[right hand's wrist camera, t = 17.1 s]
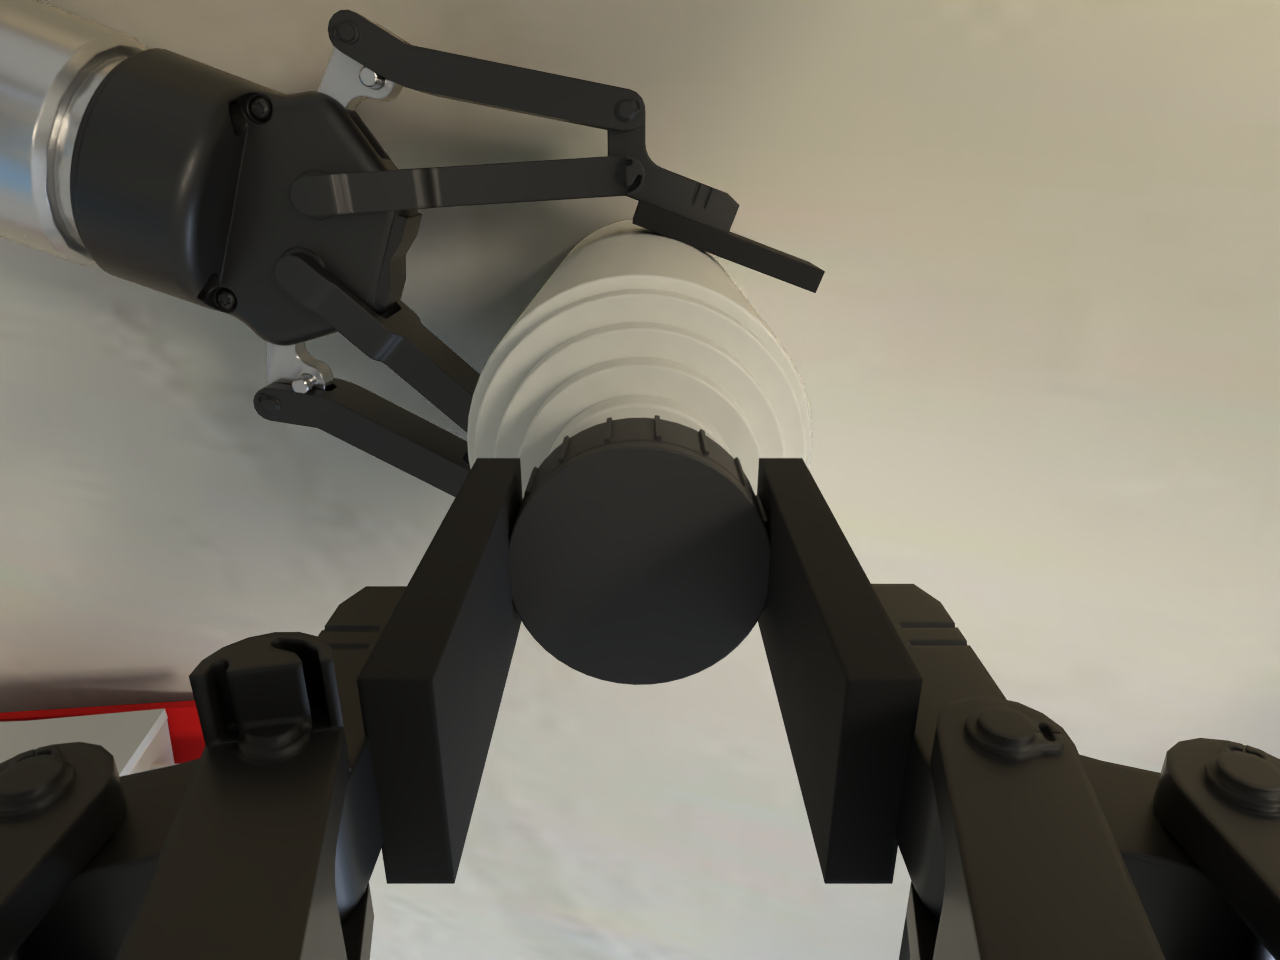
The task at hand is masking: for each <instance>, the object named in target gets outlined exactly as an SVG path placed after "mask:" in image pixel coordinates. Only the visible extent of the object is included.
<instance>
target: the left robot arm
mask: <svg viewBox="0 0 1280 960" xmlns="http://www.w3.org/2000/svg"><path fill="white" fill-rule="evenodd" d="M328 33H329V38H330V40H331V42H332V43H333V45H334V46H335V48H334V50H333V53H332V55H331V58H330V60H329V63H328V65H327V68H326V70H325V73H324V75H323V78H322V80H321V83H320V85H319V88H318V90H317V92H315V91H308V92H302V93H297V94H283V93H280V92H277V91H274V90H272V89H269V88H266V87H264V86H261V85H258V84H256V83H253V82H251V81H248V80H245V79H243V78H240V77H237V76H235V75H232V74H229V73H227V72H224V71H221V70H219V69H216V68H213V67H211V66H208V65H205V64H203V63H200V62H198V61H195V60H192V59H190V58H187V57H184V56H182V55H179V54H176V53H174V52H171V51H168V50H165V49H158V48H155V49H147V48H146V47H145V46H144V45H143V44H142V43H141V42H140V41H138V40H137V39H136V38H134V37H132V36H129V35H126V34H124V33H121V32H118V31H116V30H113V29H110V28H108V27H105V26H103V25H100V24H97V23H95V22H92V21H89V20H87V19H84V18H81V17H79V16H76V15H73V14H71V13H68V12H66V11H63V10H60V9H58V8H55V7H52V6H50V5H47V4H44V3H42V2H39V1H37V0H0V236H1V237H4V238H6V239H9V240H12V241H15V242H18V243H21V244H24V245H26V246H29V247H32V248H35V249H38V250H41V251H43V252H46V253H49V254H52V255H55V256H58V257H61V258H63V259H66V260H69V261H72V262H75V263H78V264H81V265H98V266H99V267H101V268H102V269H103V270H104V271H106V272H107V273H109V274H111V275H113V276H116V277H119V278H122V279H125V280H128V281H131V282H134V283H137V284H140V285H142V286H145V287H148V288H151V289H154V290H157V291H160V292H163V293H166V294H169V295H172V296H174V297H177V298H180V299H183V300H186V301H189V302H192V303H195V304H198V305H201V306H204V307H207V308H210V309H213V310H217V311H220V312H224V313H227V314H230V315H232V316H234V317H236V318H238V319H239V320H241V321H242V322H244V323H245V324H246V325H247V326H249V327H250V328H251V329H252V330H253V331H254V332H255V333H256V334H257V335H258V336H259V337H261V338H262V339H263V340H265V341H267V385H266V387H264V388H262V389H261V390H259V391H258V392H257V393H256V395H255V396H254V401H253V402H254V407H255V409H256V411H257V412H258V414H259V415H261V416H262V417H263V418H265V419H268V420H271V421H277V422H284V423H290V424H296V425H302V426H309V427H315V428H319V429H321V430H323V431H325V432H327V433H329V434H331V435H333V436H335V437H337V438H339V439H341V440H343V441H345V442H347V443H349V444H351V445H353V446H355V447H357V448H359V449H361V450H363V451H365V452H367V453H369V454H371V455H373V456H375V457H377V458H379V459H381V460H383V461H385V462H387V463H389V464H391V465H393V466H395V467H397V468H399V469H401V470H403V471H405V472H407V473H409V474H411V475H413V476H415V477H417V478H419V479H421V480H423V481H425V482H427V483H429V484H431V485H432V486H434V487H436V488H438V489H440V490H442V491H444V492H446V493H448V494H450V495H452V496H454V497H456V496H457V494H458V492H459V490H460V488H461V487H462V485H463V483H464V481H465V479H466V477H467V476H468V474H469V472H470V470H471V468H470V464H469V458H468V445H467V441H465V440H463V439H461V438H459V437H457V436H455V435H453V434H451V433H450V432H448V431H446V430H444V429H442V428H440V427H438V426H436V425H434V424H432V423H430V422H428V421H426V420H424V419H422V418H421V417H419V416H417V415H415V414H413V413H411V412H409V411H407V410H405V409H403V408H401V407H399V406H397V405H395V404H393V403H392V402H390V401H388V400H386V399H384V398H382V397H380V396H378V395H376V394H374V393H372V392H370V391H368V390H366V389H364V388H362V387H360V386H358V385H356V384H353V383H350V382H347V381H344V380H341V379H337V378H333V373H332V370H331V368H330V367H329V366H328V365H327V364H325V363H324V362H322V361H320V360H317V359H315V358H314V357H312V356H311V355H310V354H309V352H308V351H307V349H306V347H305V341H308V340H311V339H315V338H318V337H321V336H325V335H328V334H332V333H335V332H339V333H341V334H342V335H343V336H344V337H345V338H347V339H348V340H349V341H350V342H351V343H353V344H354V345H355V346H356V347H357V348H359V349H360V350H361V351H362V352H363V353H365V354H366V355H367V356H369V357H370V358H372V359H374V360H377V361H380V362H383V363H384V364H386V365H387V366H388V367H390V368H391V369H392V370H393V371H394V372H396V373H397V374H398V375H399V376H400V377H401V378H403V379H404V380H405V381H406V382H407V383H409V384H410V385H411V386H412V387H413V388H415V389H416V390H417V391H418V392H419V393H421V394H422V395H423V396H424V397H425V398H427V399H428V400H429V401H430V402H431V403H432V404H434V405H435V406H436V407H437V408H438V409H440V410H441V411H442V412H443V413H444V414H446V415H447V416H448V417H449V418H450V419H452V420H453V421H454V422H455V423H456V424H458V425H459V426H460V427H461V428H462V429H463V430H465V431H466V432H467V431H468V417H469V412H470V407H471V402H472V397H473V394H474V391H475V388H476V385H477V383H478V380H479V377H480V374H479V373H478V372H477V371H475V370H474V369H473V368H472V367H471V366H470V365H468V364H467V363H466V362H465V361H464V360H463V359H462V358H460V357H459V356H458V355H457V354H456V353H455V352H453V351H452V350H451V349H450V348H449V347H448V346H447V345H445V344H444V343H443V342H442V341H441V340H440V339H438V338H437V337H436V336H435V335H434V334H433V333H431V332H430V331H429V330H428V329H427V328H426V327H425V326H424V325H423V324H422V323H421V321H420V319H419V317H418V316H417V315H416V314H415V313H414V312H413V311H412V310H411V309H410V308H409V307H408V306H407V305H405V304H404V303H403V302H402V301H401V300H400V299H401V296H402V292H403V288H404V284H405V280H406V253H407V252H408V250H409V248H410V246H411V245H412V243H413V241H414V239H415V238H416V236H417V233H418V229H419V225H420V221H421V217H422V214H420V213H418V209H426V208H436V207H451V206H467V205H483V204H499V203H515V202H531V201H547V200H562V199H578V198H594V197H610V196H628V197H631V198H633V199H636V200H638V201H639V202H638V205H637V208H636V211H635V214H634V217H633V223H632V224H635V225H637V226H640V227H643V228H645V229H648V230H650V231H653V232H656V233H658V234H661V235H664V236H666V237H669V238H672V239H674V240H677V241H680V242H682V243H685V244H687V245H690V246H693V247H695V248H698V249H701V250H703V251H706V252H708V253H711V254H714V255H716V256H719V257H722V258H724V259H727V260H730V261H732V262H735V263H737V264H740V265H743V266H745V267H748V268H751V269H753V270H756V271H759V272H761V273H764V274H766V275H769V276H772V277H774V278H777V279H780V280H782V281H785V282H788V283H790V284H793V285H795V286H798V287H801V288H803V289H806V290H809V291H811V292H814V293H816V291H817V288H818V286H819V284H820V281H821V279H822V277H823V275H824V272H825V271H823V270H822V269H820V268H818V267H816V266H815V265H813V264H811V263H810V262H808V261H805V260H802V259H800V258H797V257H795V256H792V255H789V254H787V253H784V252H782V251H779V250H776V249H774V248H771V247H768V246H766V245H763V244H761V243H758V242H755V241H753V240H750V239H748V238H745V237H742V236H740V235H737V234H735V233H732V232H729V231H730V228H731V226H732V223H733V220H734V218H735V215H736V213H737V210H738V207H739V204H738V203H737V202H736V201H735V200H734V199H733V198H732V197H731V196H729V195H728V194H727V193H725V192H722V191H720V190H717V189H714V188H712V187H709V186H707V185H704V184H702V183H699V182H696V181H694V180H691V179H689V178H686V177H684V176H681V175H679V174H676V173H673V172H671V171H668V170H666V169H663V168H661V167H659V166H657V165H656V164H655V163H653V162H652V161H651V159H650V158H649V156H648V154H647V151H646V146H645V105H644V102H643V100H642V98H641V97H640V96H639V95H638V94H637V92H634V91H632V90H630V89H625V88H620V87H615V86H610V85H605V84H601V83H596V82H591V81H586V80H581V79H576V78H571V77H566V76H561V75H556V74H551V73H546V72H541V71H536V70H531V69H526V68H521V67H516V66H511V65H506V64H501V63H496V62H491V61H487V60H482V59H477V58H472V57H467V56H462V55H457V54H452V53H447V52H442V51H437V50H432V49H427V48H422V47H417V46H412V45H411V44H409V43H408V42H406V41H404V40H403V39H401V38H399V37H398V36H396V35H395V34H393V33H391V32H390V31H388V30H387V29H385V28H383V27H382V26H380V25H378V24H376V23H375V22H373V21H371V20H369V19H367V18H365V17H363V16H361V15H359V14H357V13H355V12H353V11H350V10H340V11H338V12H337V13H335V14H334V15H333V16H332V18H331V19H330V21H329V26H328ZM403 86H404V87H407V88H410V89H414V90H417V91H420V92H423V93H427V94H430V95H434V96H438V97H443V98H448V99H453V100H458V101H463V102H468V103H474V104H479V105H484V106H489V107H494V108H499V109H504V110H509V111H514V112H519V113H524V114H529V115H534V116H539V117H544V118H549V119H554V120H559V121H564V122H569V123H574V124H580V125H585V126H590V127H595V128H600V129H605V130H608V157H593V158H577V159H561V160H546V161H530V162H514V163H499V164H483V165H467V166H452V167H436V168H418V169H403V170H398V169H397V167H396V166H395V165H394V163H393V162H392V161H391V159H390V158H389V156H388V155H387V154H386V152H385V151H384V150H383V148H382V147H381V146H380V144H379V143H378V141H377V140H376V139H375V137H374V136H373V135H372V133H371V132H370V131H369V129H368V128H367V126H366V125H365V124H364V122H363V121H362V120H361V118H360V117H359V116H358V114H357V113H356V111H355V108H356V107H357V105H358V104H359V103H360V102H361V101H362V100H365V99H368V98H372V99H376V100H380V101H391V100H393V99H395V98H396V97H397V96H398V95H399V93H400V92H401V89H402V87H403Z"/></svg>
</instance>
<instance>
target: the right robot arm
mask: <svg viewBox="0 0 1280 960" xmlns="http://www.w3.org/2000/svg"><path fill="white" fill-rule="evenodd" d="M757 495H759V497H760V500H761V503H762V506H763V509H764V512H765V514H766V517H767V520H768V525H767V526H766V528H767V531H768V535H769V539H770V561H769V577H768V592H767V602H766V605H765V607H764V609H763V611H762V613H761V615H760V617H759V619H758V623H759V627H760V631H761V635H762V639H763V643H764V647H765V651H766V655H767V659H768V662H769V666H770V670H771V674H772V678H773V682H774V686H775V690H776V694H777V698H778V702H779V706H780V709H781V713H782V717H783V721H784V725H785V729H786V733H787V737H788V741H789V745H790V749H791V752H792V756H793V760H794V764H795V768H796V772H797V776H798V780H799V784H800V788H801V792H802V796H803V799H804V803H805V807H806V811H807V815H808V819H809V823H810V827H811V831H812V835H813V839H814V842H815V846H816V850H817V854H818V858H819V862H820V866H821V870H822V874H823V878H824V882H825V883H843V884H892V882H893V875H894V869H895V862H896V855H897V848H898V846H899V848H900V851H901V854H902V856H903V859H904V862H905V864H906V867H907V870H908V872H909V875H910V878H911V880H912V881H911V887H910V894H909V900H908V906H907V912H906V919H905V925H904V931H903V937H902V944H901V950H900V956H899V960H910V959H911V960H1280V759H1278V758H1276V757H1274V756H1271V755H1269V754H1267V753H1266V752H1264V751H1262V750H1259V749H1256V748H1253V747H1251V746H1248V745H1246V746H1245V745H1243V744H1240V743H1235V742H1231V741H1225V740H1216V739H1206V738H1197V739H1192V740H1186V741H1180V742H1178V743H1177V744H1176V745H1174V746H1173V747H1172V748H1171V749H1170V750H1168V751H1167V753H1166V757H1165V760H1164V764H1163V767H1162V771H1161V773H1157V772H1153V771H1148V770H1143V769H1138V768H1134V767H1129V766H1124V765H1119V764H1114V763H1110V762H1105V761H1101V760H1097V759H1093V758H1090V757H1086V756H1082V755H1079V754H1078V751H1077V749H1076V746H1075V744H1074V743H1073V742H1072V740H1071V739H1070V737H1069V736H1068V735H1067V733H1066V732H1065V731H1064V729H1063V728H1062V727H1061V726H1059V725H1058V724H1057V723H1055V722H1054V721H1052V720H1051V719H1050V718H1048V717H1047V716H1046V715H1044V714H1043V713H1041V712H1038V711H1036V710H1034V709H1032V708H1029V707H1027V706H1025V705H1023V704H1020V703H1018V702H1013V701H1009V700H1007V699H1006V698H1005V696H1004V695H1003V694H1002V692H1001V691H1000V689H999V688H998V686H997V685H996V683H995V682H994V680H993V679H992V677H991V676H990V674H989V673H988V671H987V670H986V669H985V667H984V666H983V664H982V663H981V661H980V660H979V658H978V657H977V655H976V654H975V652H974V651H973V649H972V648H971V646H967V641H966V639H965V638H964V636H963V635H962V633H961V632H960V630H959V629H958V628H955V623H954V621H953V620H952V619H951V617H950V616H949V614H948V613H947V611H946V610H945V608H944V607H943V605H942V604H941V602H939V601H938V600H936V599H935V598H933V597H932V596H931V595H929V594H928V593H926V592H925V591H923V590H922V589H920V588H919V587H917V586H916V585H914V584H871V583H870V582H869V580H868V578H867V576H866V574H865V572H864V571H863V569H862V567H861V565H860V563H859V561H858V560H857V558H856V556H855V554H854V552H853V550H852V549H851V547H850V545H849V543H848V541H847V539H846V538H845V536H844V534H843V532H842V530H841V528H840V527H839V525H838V523H837V521H836V519H835V517H834V516H833V514H832V512H831V510H830V508H829V506H828V505H827V503H826V501H825V499H824V497H823V495H822V494H821V492H820V490H819V488H818V486H817V484H816V483H815V481H814V479H813V477H812V475H811V473H810V471H809V470H808V468H807V466H806V464H805V462H804V460H803V459H802V458H759V466H758V484H757ZM522 500H523V497H522V480H521V462H520V458H477V459H476V461H475V463H474V465H473V466H472V468H471V470H470V472H469V474H468V476H467V477H466V479H465V481H464V483H463V485H462V487H461V488H460V490H459V492H458V494H457V496H456V498H455V499H454V501H453V503H452V505H451V507H450V509H449V510H448V512H447V514H446V516H445V518H444V520H443V521H442V523H441V525H440V527H439V529H438V531H437V532H436V534H435V536H434V538H433V540H432V542H431V543H430V545H429V547H428V549H427V551H426V553H425V554H424V556H423V558H422V560H421V562H420V564H419V565H418V567H417V569H416V571H415V573H414V575H413V576H412V578H411V580H410V582H409V584H408V586H394V587H365V588H363V589H362V590H360V591H359V592H357V593H356V594H354V595H353V596H351V597H350V598H349V599H347V600H346V601H344V602H343V603H341V604H340V605H339V606H338V607H337V609H336V610H335V612H334V613H333V615H332V616H331V618H330V619H329V621H328V622H327V624H326V625H325V630H322V631H321V633H320V634H319V636H318V637H317V636H313V635H309V634H305V633H301V632H274V633H269V634H264V635H259V636H254V637H249V638H246V639H244V640H241V641H238V642H236V643H233V644H231V645H228V646H225V647H223V648H221V649H220V650H218V651H216V652H215V653H213V654H212V655H210V656H209V657H207V658H205V659H204V660H202V661H201V662H200V664H199V665H198V666H197V667H196V668H195V669H194V671H193V672H192V673H191V674H190V675H189V678H190V683H191V687H192V691H193V695H194V699H195V704H196V708H197V712H198V716H199V720H200V725H201V729H202V733H203V737H204V742H205V748H204V750H203V753H202V755H201V757H200V758H199V759H195V760H192V761H188V762H184V763H181V764H177V765H172V766H168V767H163V768H158V769H153V770H149V771H144V772H139V773H134V774H130V775H125V776H120V777H119V774H118V771H117V767H116V764H115V760H114V757H113V755H112V754H111V753H110V752H108V751H107V750H106V749H105V748H104V747H102V746H101V745H96V744H90V743H85V742H71V743H61V744H52V745H48V746H44V747H39V748H38V749H35V750H34V749H32V750H29V751H26V752H23V753H20V754H18V755H16V756H14V757H13V758H10V759H8V760H6V761H4V762H2V763H0V960H370V950H371V940H372V930H373V921H374V913H373V907H372V900H371V894H370V887H369V880H370V877H371V874H372V872H373V869H374V866H375V864H376V861H377V858H378V856H379V853H380V850H381V848H382V853H383V860H384V867H385V874H386V880H387V884H392V883H455V879H456V875H457V871H458V867H459V863H460V859H461V855H462V851H463V847H464V844H465V840H466V836H467V832H468V828H469V824H470V820H471V816H472V812H473V808H474V804H475V801H476V797H477V793H478V789H479V785H480V781H481V777H482V773H483V769H484V765H485V761H486V758H487V754H488V750H489V746H490V742H491V738H492V734H493V730H494V726H495V722H496V718H497V714H498V711H499V707H500V703H501V699H502V695H503V691H504V687H505V683H506V679H507V675H508V671H509V668H510V664H511V660H512V656H513V652H514V648H515V644H516V640H517V636H518V632H519V628H520V625H521V621H522V620H521V618H520V617H519V615H518V613H517V611H516V609H515V606H514V604H513V601H512V588H511V572H510V557H509V539H510V535H511V532H512V529H513V526H514V523H515V521H516V518H517V515H518V512H519V509H520V506H521V503H522Z"/></svg>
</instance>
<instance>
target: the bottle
mask: <svg viewBox="0 0 1280 960" xmlns="http://www.w3.org/2000/svg"><path fill="white" fill-rule="evenodd" d="M632 223H633V220H625V221H620V222H616V223H612V224H609V225H607V226H605V227H602V228H600V229H598V230H596V231H594V232H593V233H591V234H589V235H588V236H586V237H585V238H584V239H583V240H582V241H580V242H579V243H578V244H577V245H576V246H575V247H574V248H573V249H572V250H571V251H570V252H569V254H568V255H567V256H566V257H565V259H564V260H563V261H562V263H561V264H560V265H559V266H558V268H557V269H556V270H555V272H554V273H553V274H552V275H551V277H550V278H549V279H548V281H547V282H546V283H545V284H544V286H543V287H542V288H541V290H540V291H539V292H538V293H537V295H536V296H535V297H534V299H533V300H532V301H531V302H530V304H529V305H528V306H527V308H526V309H525V310H524V311H523V313H522V314H521V315H520V316H519V318H518V319H517V320H516V322H515V323H514V324H513V325H512V327H511V328H510V329H509V331H508V332H507V333H506V334H505V336H504V337H503V339H502V340H501V341H500V343H499V344H498V345H497V347H496V348H495V350H494V351H493V352H492V354H491V355H490V357H489V359H488V361H487V363H486V365H485V367H484V369H483V371H482V372H481V374H480V377H479V380H478V383H477V385H476V388H475V391H474V394H473V397H472V402H471V407H470V412H469V417H468V431H467V445H468V458H469V464H470V468H472V466H473V465H474V463H475V461H476V459H477V458H520V462H521V480H522V497H523V498H524V493H525V490H526V487H527V484H528V482H529V479H530V476H531V473H532V470H533V468H534V467H537V468H539V466H540V465H541V464H542V462H543V461H544V460H545V459H546V458H547V457H548V456H549V455H550V454H551V452H552V451H553V450H554V449H556V448H557V447H558V446H559V445H561V444H562V443H563V439H564V437H566V436H567V435H568V436H569V437H572V436H574V435H576V434H577V433H579V432H581V431H583V430H585V429H587V428H590V427H592V426H595V425H597V424H601V423H604V422H606V421H607V418H610V417H612V420H618V419H624V418H654V417H655V415H658V416H660V419H663V420H667V421H671V422H675V423H679V424H682V425H684V426H687V427H690V428H692V429H694V430H696V431H698V432H699V430H700V429H702V430H704V431H705V435H706V436H708V437H709V438H710V439H712V440H713V441H715V442H716V443H717V444H719V445H720V446H721V447H722V448H724V449H725V450H726V451H727V452H728V453H729V454H730V455H731V456H732V457H733V458H734V459H735V458H736V457H738V459H739V460H740V463H741V466H742V469H743V472H744V473H745V475H746V476H747V478H748V480H749V482H750V484H751V486H752V489H753V491H754V493H755V496H756V495H757V484H758V466H759V458H802V459H803V460H804V462H805V464H806V466H807V468H808V470H809V467H810V463H811V452H812V441H813V440H812V420H811V414H810V409H809V404H808V399H807V395H806V392H805V389H804V386H803V384H802V381H801V378H800V375H799V373H798V371H797V370H796V368H795V366H794V364H793V362H792V360H791V358H790V356H789V355H788V353H787V352H786V350H785V349H784V347H783V346H782V345H781V343H780V342H779V340H778V339H777V338H776V336H775V335H774V334H773V332H772V331H771V330H770V328H769V327H768V326H767V325H766V323H765V322H764V321H763V319H762V318H761V317H760V316H759V314H758V313H757V312H756V310H755V309H754V308H753V307H752V305H751V304H750V303H749V301H748V300H747V299H746V297H745V296H744V295H743V294H742V292H741V291H740V290H739V288H738V287H737V286H736V285H735V283H734V282H733V281H732V279H731V278H730V277H729V275H728V274H727V273H726V272H725V270H724V269H723V268H722V266H721V265H720V264H719V263H718V261H717V260H716V259H715V257H714V256H713V255H712V254H711V253H708V252H706V251H703V250H701V249H698V248H695V247H693V246H690V245H687V244H685V243H682V242H680V241H677V240H674V239H672V238H669V237H666V236H664V235H661V234H658V233H656V232H653V231H650V230H648V229H645V228H643V227H640V226H637V225H635V224H632Z"/></svg>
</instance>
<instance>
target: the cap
mask: <svg viewBox="0 0 1280 960" xmlns="http://www.w3.org/2000/svg"><path fill="white" fill-rule="evenodd" d="M767 525H768V520H767V517H766V514H765V512H764V509H763V506H762V503H761V500H760V497H759V495H756V496H755V493H754V491H753V489H752V486H751V484H750V482H749V480H748V478H747V476H746V475H745V473H744V472H743V469H742V466H741V463H740V460H739V459H738V457H736V458H735V459H734V458H733V457H732V456H731V455H730V454H729V453H728V452H727V451H726V450H725V449H724V448H722V447H721V446H720V445H719V444H717V443H716V442H715V441H713V440H712V439H710V438H709V437H708V436H706V435H705V431H704V430H702V429H700V430H699V432H698V431H696V430H694V429H692V428H690V427H687V426H684V425H682V424H679V423H675V422H671V421H667V420H663V419H660V416H658V415H655V417H654V418H624V419H618V420H612V417H610V418H607V421H606V422H604V423H601V424H597V425H595V426H592V427H590V428H587V429H585V430H583V431H581V432H579V433H577V434H576V435H574V436H572V437H569V436H568V435H567V436H566V437H564V439H563V443H562V444H561V445H559V446H558V447H557V448H556V449H554V450H553V451H552V452H551V454H550V455H549V456H548V457H547V458H546V459H545V460H544V461H543V462H542V464H541V465H540V466H539V468H537V467H534V468H533V470H532V473H531V476H530V479H529V482H528V484H527V487H526V490H525V493H524V498H523V500H522V503H521V506H520V509H519V512H518V515H517V518H516V521H515V523H514V526H513V529H512V532H511V535H510V539H509V557H510V572H511V588H512V601H513V604H514V606H515V609H516V611H517V613H518V615H519V617H520V618H521V620H522V622H523V624H524V625H525V627H526V628H527V630H528V631H529V632H530V634H531V635H532V636H533V637H534V639H535V640H536V641H537V642H538V643H539V644H540V645H541V646H542V647H543V648H544V649H545V650H546V651H548V652H549V653H550V654H551V655H553V656H554V657H555V658H556V659H558V660H559V661H561V662H563V663H564V664H566V665H567V666H569V667H571V668H573V669H575V670H577V671H579V672H581V673H584V674H586V675H589V676H592V677H595V678H598V679H601V680H605V681H610V682H615V683H622V684H633V685H640V684H657V683H664V682H670V681H674V680H678V679H682V678H685V677H688V676H690V675H693V674H696V673H698V672H700V671H702V670H704V669H706V668H708V667H710V666H712V665H714V664H715V663H717V662H718V661H720V660H721V659H723V658H724V657H726V656H727V655H728V654H729V653H730V652H732V651H733V650H734V649H735V648H736V647H737V646H738V645H739V644H740V643H741V642H742V641H743V640H744V639H745V638H746V637H747V635H748V634H749V633H750V631H751V630H752V628H753V627H754V626H755V624H756V623H757V621H758V619H759V617H760V615H761V613H762V611H763V609H764V607H765V605H766V602H767V592H768V577H769V561H770V539H769V535H768V531H767V528H766V526H767Z"/></svg>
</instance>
